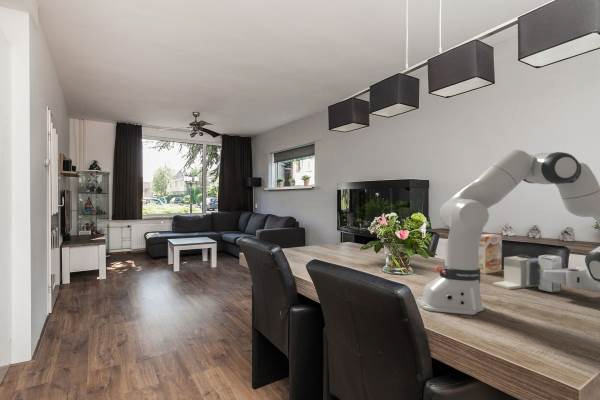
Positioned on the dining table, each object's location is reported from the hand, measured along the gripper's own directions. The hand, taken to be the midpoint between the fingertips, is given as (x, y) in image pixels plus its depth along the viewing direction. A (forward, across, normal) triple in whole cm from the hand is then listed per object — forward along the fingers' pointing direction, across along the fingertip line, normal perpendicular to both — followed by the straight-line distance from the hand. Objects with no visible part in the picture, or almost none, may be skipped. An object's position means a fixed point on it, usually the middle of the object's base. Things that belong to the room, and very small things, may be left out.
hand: (547, 270), depth 139 cm
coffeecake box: (+36, -9, +9) cm, 39 cm away
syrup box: (-1, 0, +8) cm, 8 cm away
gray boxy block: (+9, 0, +7) cm, 11 cm away
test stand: (+11, 0, +9) cm, 14 cm away
